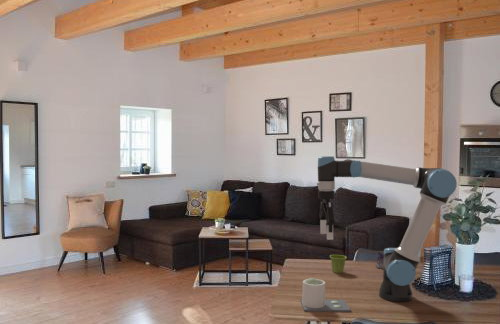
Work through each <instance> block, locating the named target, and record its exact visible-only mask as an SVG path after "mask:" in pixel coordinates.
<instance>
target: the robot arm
mask: <svg viewBox="0 0 500 324" xmlns="http://www.w3.org/2000/svg"><path fill="white" fill-rule="evenodd" d="M335 178H364V179H370V180H377V181H384V182H388V183H389V182H390V183H397V184H402V185H403V184H404V185H409V186H412V187H414V188H415V189H420V191H419V194H420V200H419V202H418V204H417V207H416V209H415V211H414V213H413V215H412V218H411V219H410V222H409V224H408V227H407V229H406V231H405V233H404V235H403V238H402V240H401V242H400V244H399V246H398V247H387V248H384V250H383V253H384V254H383V253H382V254H383V255H384V269H382V270H383V275H382V276H383V277H382V282H381V284H380V287H379V290H378V296H379V297H380V298H382V299H384V300H386V301H387V300H388V301H391V302H398V303H399V302H401V303H403V302H411V301H412V300H413V291H412V288H411V284H412V283H413V282H414V280H415V279H416V275H417V274H416V273H417V271H416V270H417V268H418V266H419V263H420V257H419V255H420V252H421V250H422V248H423V246H424V243H425V241H426V239H427V238H428V235H429V232H430V230H431V228H432V226H433V223H434V222H435V219H436V217H437V214H438V213H439V211H440V208H441V207H442V206H444V205H446V204H447V202H448V200H449V198H450V196H452V195H453V194H454V192H455V191H456V189H457V186H458V184H457V179H456V177H455V175H454V174H453V173H452V172H451V171H450V170H448V169H444V168H439V167H416V168H411V167H404V166H403V167H402V166H396V165H391V164H390V165H388V164H383V163H382V164H381V163H375V162H367V161H361V160H355V159H348V158H347V159H344V160H335V156H331V155H329V156H326V155H325V156H318V159H317V182H316V185H317V189H318V191H317V198H318V199H319V200H320V206H319V216H318V217H319V220H320V221H319V224H320V225H319V226H320V230H319V231H320V235H326V240H327V241H328V240H329V241H330V240H332V241H333V240H334V225H335V223H336V222H335V217H334V216H335V214H334V208H333V205H334V204H333V201H331V200H334V199H335V198H336V195H335V194H336V193H335V192H336V191H335V189H336V188H335V186H336V183H335V182H336V181H335Z"/></svg>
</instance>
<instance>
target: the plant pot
mask: <svg viewBox="0 0 500 324" xmlns="http://www.w3.org/2000/svg"><path fill="white" fill-rule="evenodd" d="M329 258H330V262H331V271H332V272H333V273H335V274H343V273H344V270H345V264H346V260H347V258H348V257H347V255H343V254H330V255H329Z"/></svg>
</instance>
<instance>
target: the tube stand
mask: <svg viewBox="0 0 500 324" xmlns="http://www.w3.org/2000/svg"><path fill="white" fill-rule="evenodd" d="M307 279H308V278H307ZM307 279H304V280H302V298H300V303H301V306H302V310H303V311H304V312H334V313H335V312H336V313H337V312H338V313H339V312H345V313H348V312H349V313H350V312H351V307H349V305H348V304H347V301H346V300H345V299H326V281H324V280H323V279H317V278H315V279H316V280H317V281H318V285H312V284H307V283H305V282H306V280H307Z"/></svg>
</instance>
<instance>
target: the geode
mask: <svg viewBox="0 0 500 324" xmlns="http://www.w3.org/2000/svg"><path fill="white" fill-rule="evenodd" d="M383 254H384V252H383V253H381V252H378V253H377V257H376V263H375V267H376V269H378V270H384V255H383Z"/></svg>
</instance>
